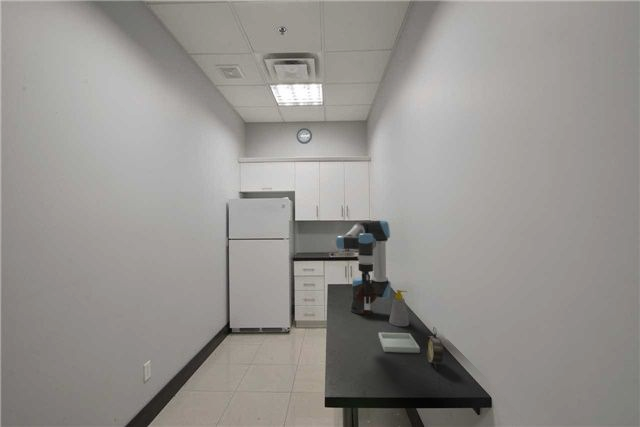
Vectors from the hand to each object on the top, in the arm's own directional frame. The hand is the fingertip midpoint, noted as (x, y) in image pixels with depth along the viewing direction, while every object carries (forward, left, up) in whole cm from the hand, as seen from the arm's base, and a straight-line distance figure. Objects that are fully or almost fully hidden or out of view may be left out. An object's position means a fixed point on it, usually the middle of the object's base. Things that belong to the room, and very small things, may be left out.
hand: (365, 306), depth 139 cm
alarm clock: (+17, +29, -20) cm, 39 cm away
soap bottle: (-33, +25, -20) cm, 46 cm away
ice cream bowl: (0, 0, -3) cm, 3 cm away
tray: (-2, +17, -20) cm, 26 cm away
